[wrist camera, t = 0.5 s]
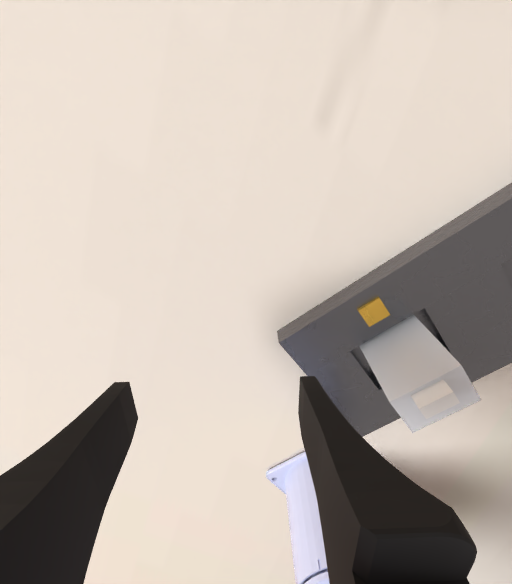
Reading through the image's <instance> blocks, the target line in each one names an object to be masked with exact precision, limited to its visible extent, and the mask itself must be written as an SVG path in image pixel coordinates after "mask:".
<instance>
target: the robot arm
mask: <svg viewBox="0 0 512 584" xmlns="http://www.w3.org/2000/svg"><path fill="white" fill-rule="evenodd" d="M298 413H299V421H300V428H301V435H302V440H303V444H304V448H305V452H303V453H301V454H299V455H297V456H295V457H293V458H291V459H289V460H287V461H285V462H283V463H281V464H279V465H277V466H275V467H274V468H272V469H270V470H268V471H267V472H266V477H267V479H269V480H270V481H271V482H272V483H273V484H274V485H275V486H277V487H278V488H279V489H280V490H281V491H282V492H283V493H285V494H286V497H287V506H288V516H289V525H290V534H291V543H292V553H293V562H294V571H295V580H296V584H469V582H468V580H467V576H468V574H469V572H470V570H471V568H472V565H473V563H474V561H475V558H476V554H477V550H476V546H475V544H474V542H473V540H472V538H471V537H470V535H469V533H468V531H467V530H466V528H465V527H464V525H463V523H462V522H461V520H460V519H459V518H458V516H457V515H456V513H455V512H454V510H453V509H452V508H451V507H450V506H448V505H446V504H445V503H443V502H442V501H440V500H439V499H437V498H436V497H434V496H433V495H431V494H430V493H428V492H427V491H425V490H424V489H422V488H421V487H420V486H418V485H417V484H415V483H414V482H413V481H411V480H410V479H409V478H407V477H406V476H405V475H404V474H402V473H401V472H400V471H399V470H398V469H396V468H395V467H394V466H393V465H391V464H390V463H389V462H388V461H387V460H385V459H384V458H383V457H382V456H381V455H380V454H379V453H378V452H377V451H376V450H375V449H374V448H373V447H372V446H371V445H370V444H369V443H367V442H366V441H365V439H364V438H363V437H362V436H361V435H360V434H359V433H358V432H357V431H356V430H355V429H354V428H353V426H352V425H351V424H350V423H349V422H348V421H347V419H346V418H345V417H344V416H343V415H342V413H341V412H340V411H339V409H338V408H337V407H336V406H335V404H334V403H333V402H332V400H331V399H330V397H329V396H328V395H327V393H326V392H325V390H324V389H323V387H322V386H321V384H320V383H319V381H318V379H317V378H316V377H315V376H304V377H300V390H299V412H298ZM137 420H138V416H137V412H136V408H135V404H134V400H133V396H132V392H131V387H130V383H129V382H115V383H114V384H112V385H111V386H110V387H109V388H108V389H107V390H106V391H105V392H104V393H103V394H102V395H101V396H100V397H99V398H97V399H96V400H95V401H94V402H93V403H92V404H91V405H90V406H89V407H88V408H87V409H86V410H85V411H83V412H82V413H81V414H80V415H79V416H78V417H77V418H76V419H75V420H74V421H72V422H71V423H70V424H69V425H68V426H67V427H65V428H64V429H63V430H62V431H61V432H59V433H58V434H57V435H56V436H55V437H54V438H52V439H51V440H50V441H49V442H47V443H46V444H45V445H43V446H42V447H41V448H40V449H38V450H37V451H35V452H34V453H33V454H31V455H30V456H29V457H27V458H26V459H25V460H23V461H22V462H20V463H19V464H17V465H16V466H14V467H13V468H11V469H10V470H8V471H7V472H5V473H4V474H2V475H1V476H0V584H83V583H84V579H85V575H86V571H87V568H88V564H89V560H90V557H91V553H92V550H93V546H94V543H95V539H96V536H97V533H98V529H99V526H100V523H101V520H102V516H103V513H104V510H105V507H106V504H107V502H108V499H109V496H110V494H111V491H112V489H113V486H114V484H115V482H116V479H117V477H118V474H119V472H120V469H121V467H122V465H123V462H124V460H125V457H126V455H127V452H128V450H129V447H130V445H131V442H132V439H133V435H134V432H135V428H136V424H137Z"/></svg>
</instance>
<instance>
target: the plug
mask: <svg viewBox="0 0 512 584" xmlns="http://www.w3.org/2000/svg"><path fill="white" fill-rule="evenodd" d="M360 348H361V350H362V352H363V354H364V356H365V358H366V360H367V361H368V363H369V365H370V367H371V369H372V371H373V373H374V374H375V376H376V378H377V380H378V382H379V384H380V386H381V387H382V389H383V391H384V393H385V395H386V397H387V399H388V400H389V402H390V404H391V405H392V406H393V408H394V409H395V410H396V412H397V413H398V414H399V416H400V417H401V418H402V420H403V421H404V422H405V424H406V425H407V426H408V427H409V429H410V430H411V431H412V433H413V432H415V431H418V430H420V429H422V428H424V427H426V426H428V425H430V424H432V423H434V422H436V421H438V420H441V419H443V418H445V417H447V416H449V415H451V414H453V413H455V412H457V411H459V410H461V409H463V408H466V407H468V406H470V405H472V404H474V403H476V402H478V401H480V400H481V398H480V396H479V395H478V393H477V391H476V390H475V388H474V386H473V384H472V383H471V381H470V379H469V377H468V376H467V374H466V372H465V371H464V369H463V367H462V365H461V364H460V363H459V362H458V361H457V360H456V359H455V358H454V357H453V356H452V355H451V354H450V353H449V352H448V350H447V349H446V348H445V347H444V346H443V345H442V344H441V343H440V342H439V341H438V340H437V339H436V338H435V337H434V336H433V335H432V333H431V332H430V331H429V330H428V329H427V328H426V327H425V326H424V325H423V324H422V323H421V322H420V321H419V320H418V319H417V318H416V316H415V315H412V316H410V317H408V318H407V319H405V320H403V321H401V322H400V323H398V324H396V325H394V326H393V327H391V328H389V329H388V330H386V331H384V332H382V333H381V334H379V335H377V336H375V337H374V338H372V339H370V340H368V341H367V342H365V343H363V344H361V345H360Z"/></svg>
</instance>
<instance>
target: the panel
mask: <svg viewBox="0 0 512 584" xmlns="http://www.w3.org/2000/svg"><path fill="white" fill-rule="evenodd" d="M412 315H415V316H416V318H417V319H418V320H419V321H420V322H421V323H422V324H423V325H424V326H425V327H426V328H427V329H428V330H429V331H430V332H431V333H432V335H433V336H434V337H435V338H436V339H437V340H438V341H439V342H440V343H441V344H442V345H443V346H444V347H445V348H446V349H447V350H448V352H449V353H450V354H451V355H452V356H453V357H454V358H455V359H456V360H457V361H458V362H459V363H460V364H461V365H462V367H463V369H464V371H465V372H466V374H467V376H468V377H469V379H470V381H471V382H474V381H476V380H478V379H480V378H482V377H484V376H486V375H488V374H490V373H492V372H494V371H496V370H498V369H500V368H502V367H504V366H506V365H508V364H510V363H512V183H511V184H509V185H507V186H506V187H504V188H503V189H501V190H500V191H498V192H496V193H495V194H493V195H492V196H490V197H488V198H487V199H485V200H484V201H482V202H481V203H479V204H477V205H476V206H474V207H473V208H471V209H470V210H468V211H466V212H465V213H463V214H462V215H460V216H458V217H457V218H455V219H454V220H452V221H451V222H449V223H447V224H446V225H444V226H443V227H441V228H440V229H438V230H436V231H435V232H433V233H432V234H430V235H428V236H427V237H425V238H424V239H422V240H421V241H419V242H417V243H416V244H414V245H413V246H411V247H410V248H408V249H406V250H405V251H403V252H402V253H400V254H398V255H397V256H395V257H394V258H392V259H391V260H389V261H387V262H386V263H384V264H383V265H381V266H379V267H378V268H376V269H375V270H373V271H372V272H370V273H368V274H367V275H365V276H364V277H362V278H361V279H359V280H357V281H356V282H354V283H353V284H351V285H349V286H348V287H346V288H345V289H343V290H342V291H340V292H338V293H337V294H335V295H334V296H332V297H331V298H329V299H327V300H326V301H324V302H323V303H321V304H319V305H318V306H316V307H315V308H313V309H312V310H310V311H308V312H307V313H305V314H304V315H302V316H300V317H299V318H297V319H296V320H294V321H293V322H291V323H289V324H288V325H286V326H285V327H283V328H282V329H280V330H278V331H277V333H278V340H279V343H280V345H281V346H282V347H283V348H284V349H285V350H286V352H287V353H288V354H289V355H290V356H291V357H292V358H293V360H294V361H295V362H296V363H297V364H298V365H299V367H300V368H301V369H302V370H303V371H304V372H305V373H306V375H307V376H315V377H316V378H317V379H318V381H319V383H320V384H321V386H322V387H323V389H324V390H325V392H326V393H327V395H328V396H329V397H330V399H331V400H332V402H333V403H334V404H335V406H336V407H337V408H338V409H339V411H340V412H341V413H342V415H343V416H344V417H345V418H346V419H347V421H348V422H349V423H350V424H351V425H352V426H353V428H354V429H355V430H356V431H357V432H358V433H359V434H360V435H361V436H362V437H363V436H365V435H367V434H369V433H371V432H373V431H375V430H377V429H379V428H381V427H383V426H385V425H387V424H389V423H391V422H393V421H395V420H397V419H399V418H401V417H400V416H399V414H398V413H397V412H396V410H395V409H394V408H393V406H392V405H391V404H390V402H389V400H388V399H387V397H386V395H385V393H384V391H383V389H382V387H381V386H380V384H379V382H378V380H377V378H376V376H375V374H374V373H373V371H372V369H371V367H370V365H369V363H368V361H367V360H366V358H365V356H364V354H363V352H362V350H361V348H360V345H361V344H363V343H365V342H367V341H368V340H370V339H372V338H374V337H375V336H377V335H379V334H381V333H382V332H384V331H386V330H388V329H389V328H391V327H393V326H394V325H396V324H398V323H400V322H401V321H403V320H405V319H407V318H408V317H410V316H412Z"/></svg>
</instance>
